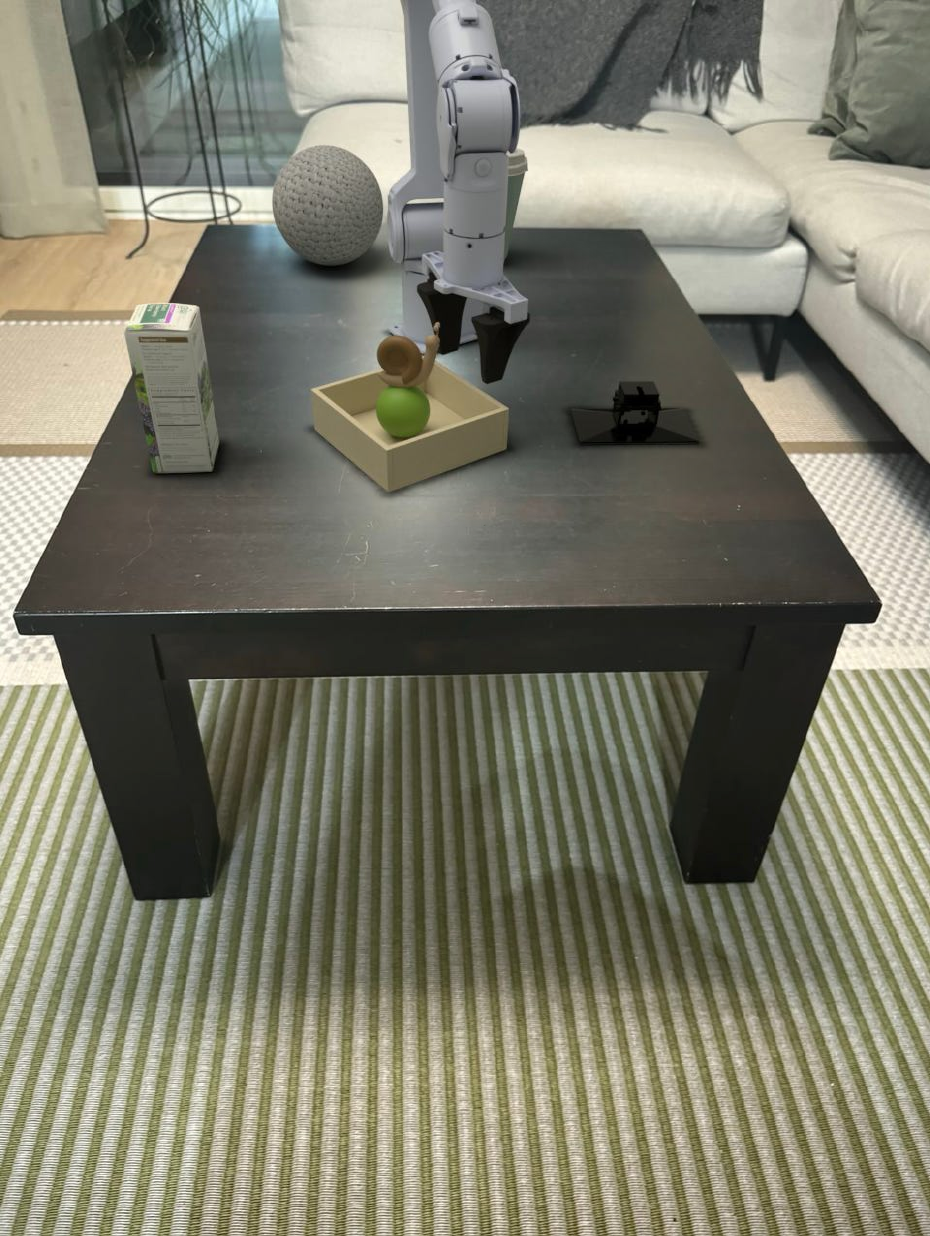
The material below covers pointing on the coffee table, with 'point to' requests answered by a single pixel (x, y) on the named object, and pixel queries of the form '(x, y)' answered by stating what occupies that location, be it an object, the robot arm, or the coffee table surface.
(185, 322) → the syrup box
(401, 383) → the snail figurine
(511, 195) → the disposable coffee cup
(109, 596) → the coffee table surface
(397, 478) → the tray
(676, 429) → the build plate
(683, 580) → the coffee table surface
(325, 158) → the decorative ball
